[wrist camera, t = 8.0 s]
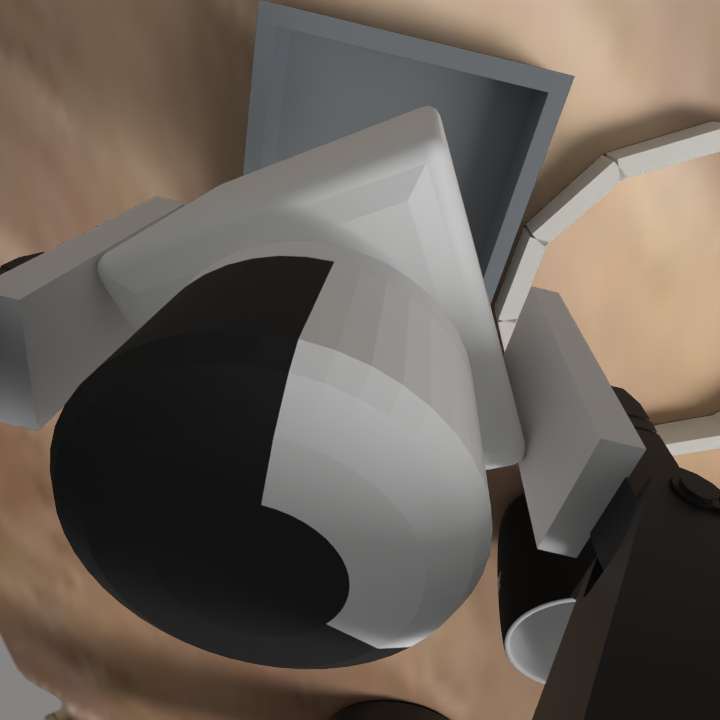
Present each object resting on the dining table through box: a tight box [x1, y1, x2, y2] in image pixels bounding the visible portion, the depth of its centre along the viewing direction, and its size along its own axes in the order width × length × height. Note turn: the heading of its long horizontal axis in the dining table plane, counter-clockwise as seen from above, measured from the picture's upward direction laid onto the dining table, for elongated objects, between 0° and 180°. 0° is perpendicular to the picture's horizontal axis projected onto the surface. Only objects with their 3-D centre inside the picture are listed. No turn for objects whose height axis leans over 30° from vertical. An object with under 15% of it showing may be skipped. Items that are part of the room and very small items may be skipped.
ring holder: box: [494, 121, 720, 456], centre depth 29 cm, size 19×19×2 cm
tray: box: [243, 0, 575, 305], centre depth 27 cm, size 14×14×4 cm
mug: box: [498, 494, 597, 684], centre depth 36 cm, size 12×9×10 cm
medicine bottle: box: [50, 106, 526, 669], centre depth 12 cm, size 7×7×12 cm
